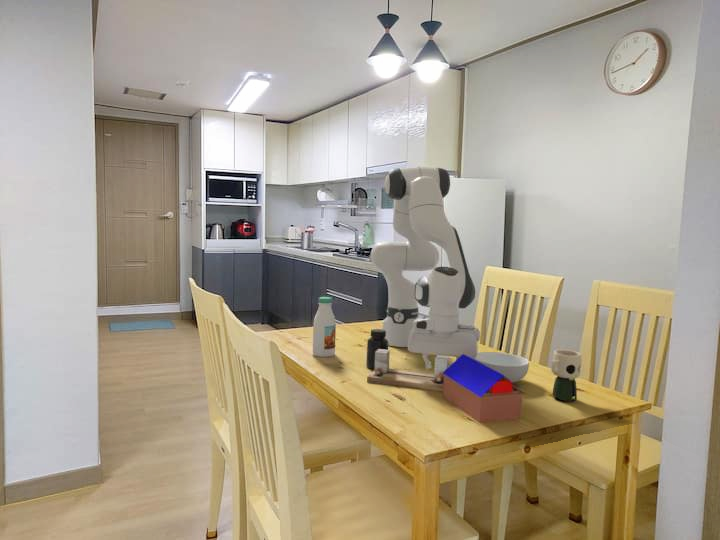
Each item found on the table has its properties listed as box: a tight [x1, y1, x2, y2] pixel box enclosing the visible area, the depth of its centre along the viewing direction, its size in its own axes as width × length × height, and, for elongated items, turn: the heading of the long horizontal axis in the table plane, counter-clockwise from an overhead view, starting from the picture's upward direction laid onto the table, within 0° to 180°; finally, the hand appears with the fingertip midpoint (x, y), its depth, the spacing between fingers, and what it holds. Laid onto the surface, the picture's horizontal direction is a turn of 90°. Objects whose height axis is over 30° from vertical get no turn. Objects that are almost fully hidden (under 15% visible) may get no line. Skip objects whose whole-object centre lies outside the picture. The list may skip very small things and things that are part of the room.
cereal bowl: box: [474, 351, 530, 383], centre depth 161 cm, size 17×17×7 cm
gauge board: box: [366, 349, 444, 392], centre depth 157 cm, size 11×27×8 cm, turn 73°
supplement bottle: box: [365, 328, 389, 370], centre depth 171 cm, size 7×7×12 cm
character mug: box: [550, 349, 583, 402], centre depth 146 cm, size 11×7×13 cm, turn 117°
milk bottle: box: [312, 296, 337, 358], centre depth 183 cm, size 8×8×20 cm
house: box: [442, 354, 524, 424], centre depth 138 cm, size 12×20×12 cm, turn 18°
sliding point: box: [433, 355, 450, 382], centre depth 155 cm, size 7×4×6 cm, turn 163°
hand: (441, 369), depth 156 cm, fingers open, 6 cm apart
